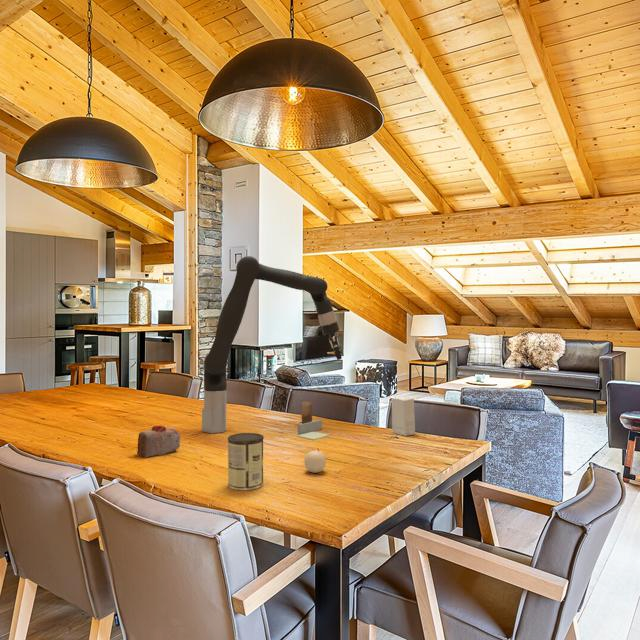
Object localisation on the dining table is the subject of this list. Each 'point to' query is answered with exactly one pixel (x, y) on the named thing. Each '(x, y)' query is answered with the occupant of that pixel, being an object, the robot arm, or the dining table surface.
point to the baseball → (315, 461)
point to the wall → (309, 427)
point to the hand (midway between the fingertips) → (338, 357)
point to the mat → (313, 435)
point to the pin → (306, 411)
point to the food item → (158, 441)
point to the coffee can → (245, 461)
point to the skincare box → (403, 416)
